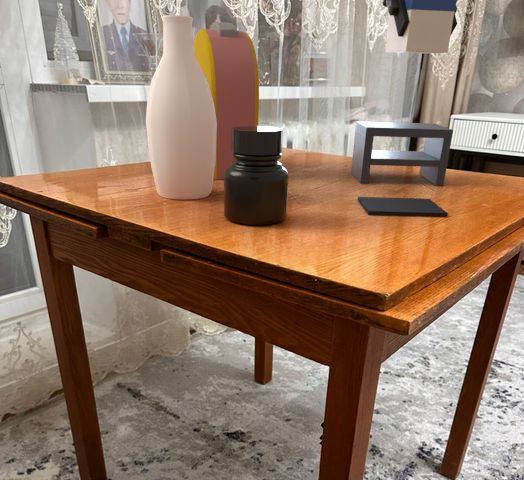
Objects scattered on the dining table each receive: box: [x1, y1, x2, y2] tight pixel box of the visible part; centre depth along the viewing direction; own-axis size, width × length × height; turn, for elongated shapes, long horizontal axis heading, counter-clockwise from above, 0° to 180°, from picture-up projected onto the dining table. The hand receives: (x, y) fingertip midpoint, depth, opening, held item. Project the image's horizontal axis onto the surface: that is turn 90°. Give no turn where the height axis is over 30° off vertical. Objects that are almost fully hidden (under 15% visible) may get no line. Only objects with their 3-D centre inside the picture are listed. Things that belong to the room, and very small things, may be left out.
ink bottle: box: [223, 125, 289, 226], centre depth 75 cm, size 10×9×12 cm
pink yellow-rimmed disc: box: [193, 21, 260, 180], centre depth 107 cm, size 21×9×26 cm, turn 17°
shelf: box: [350, 120, 454, 187], centre depth 107 cm, size 16×12×10 cm
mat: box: [357, 196, 449, 218], centre depth 86 cm, size 12×10×1 cm
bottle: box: [145, 14, 217, 201], centre depth 85 cm, size 11×11×25 cm
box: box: [384, 0, 458, 54], centre depth 86 cm, size 7×9×11 cm
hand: (427, 29), depth 84 cm, fingers closed on box, 7 cm apart
